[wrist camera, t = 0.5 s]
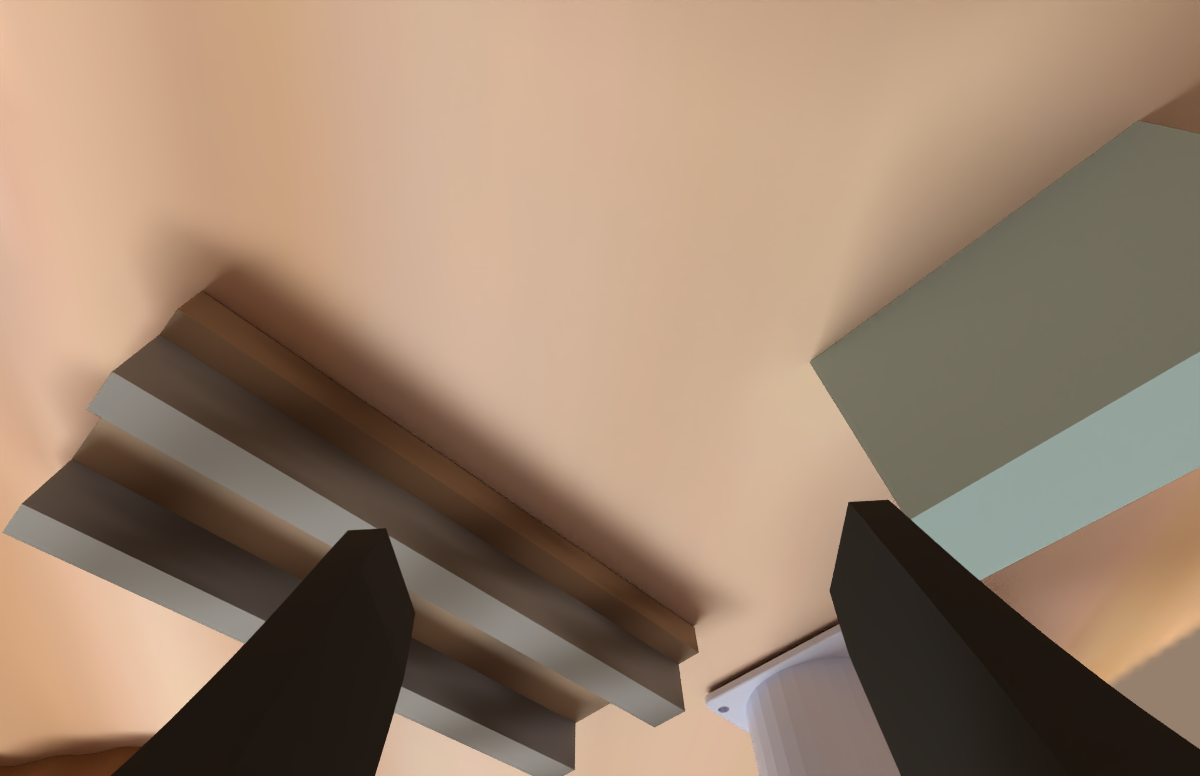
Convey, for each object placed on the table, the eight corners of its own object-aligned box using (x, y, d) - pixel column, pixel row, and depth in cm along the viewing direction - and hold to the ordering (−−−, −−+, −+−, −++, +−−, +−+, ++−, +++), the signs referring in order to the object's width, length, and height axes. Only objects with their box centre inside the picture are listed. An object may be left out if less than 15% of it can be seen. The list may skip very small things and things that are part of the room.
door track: (694, 627, 26) (706, 699, 23) (537, 720, 30) (532, 792, 27) (201, 290, 17) (130, 344, 15) (65, 480, 21) (-11, 551, 18)
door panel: (1135, 120, 16) (1473, 192, 10) (1175, 203, 17) (1497, 313, 11) (809, 361, 19) (907, 521, 13) (859, 415, 20) (971, 584, 14)
